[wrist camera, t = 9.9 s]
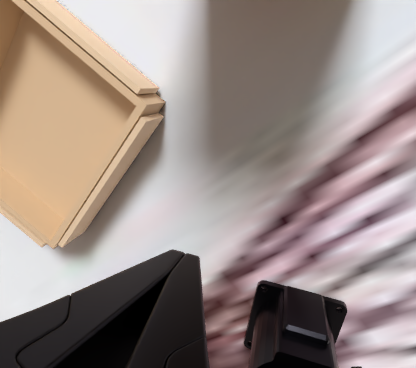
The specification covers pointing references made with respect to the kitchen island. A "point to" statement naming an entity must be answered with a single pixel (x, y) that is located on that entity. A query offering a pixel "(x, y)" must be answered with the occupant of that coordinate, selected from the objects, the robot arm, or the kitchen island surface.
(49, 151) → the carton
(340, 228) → the kitchen island surface
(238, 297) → the kitchen island surface
